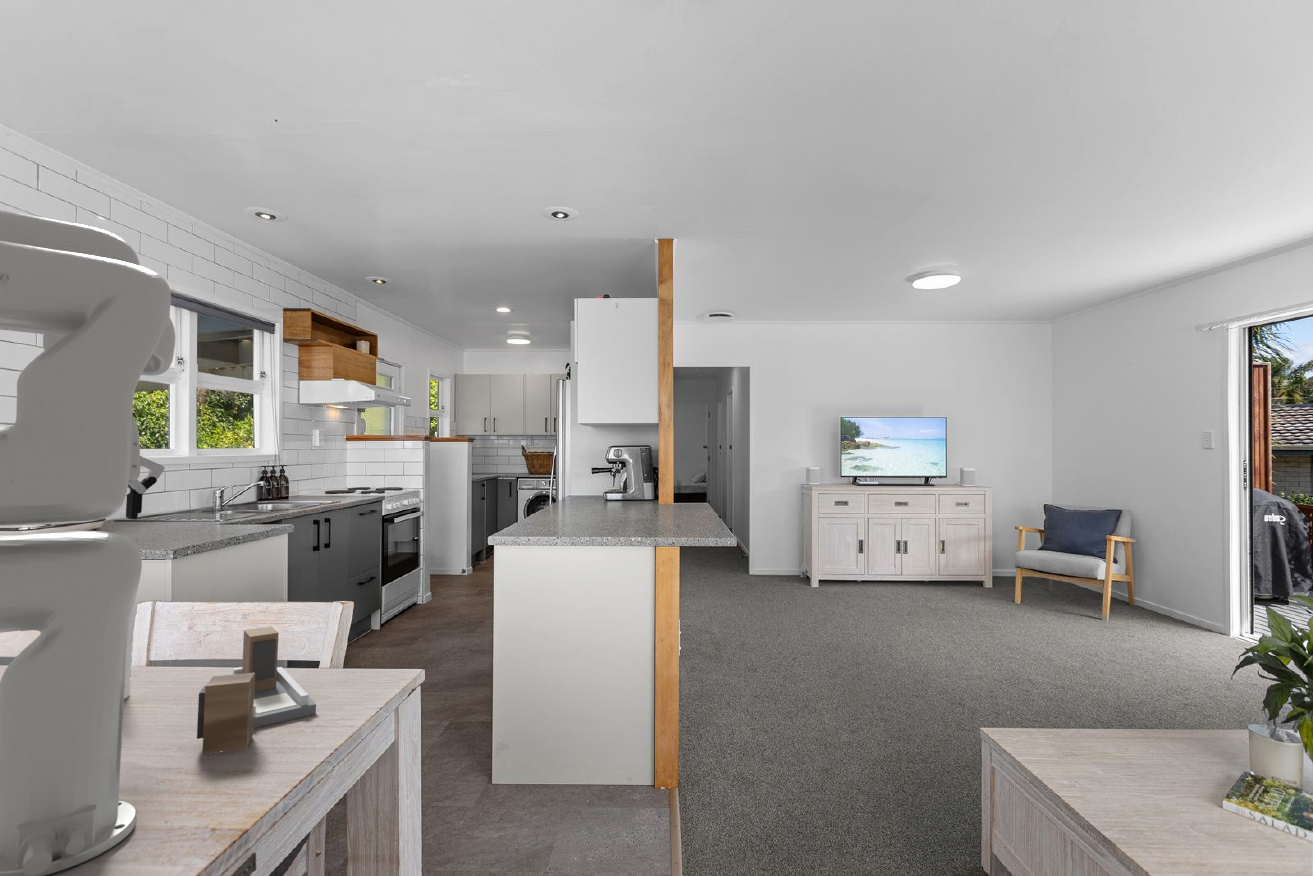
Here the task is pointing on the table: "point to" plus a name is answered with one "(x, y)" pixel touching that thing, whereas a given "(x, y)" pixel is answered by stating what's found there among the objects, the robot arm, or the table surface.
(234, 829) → the table surface
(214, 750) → the walnut finger
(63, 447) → the robot arm
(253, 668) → the frame
